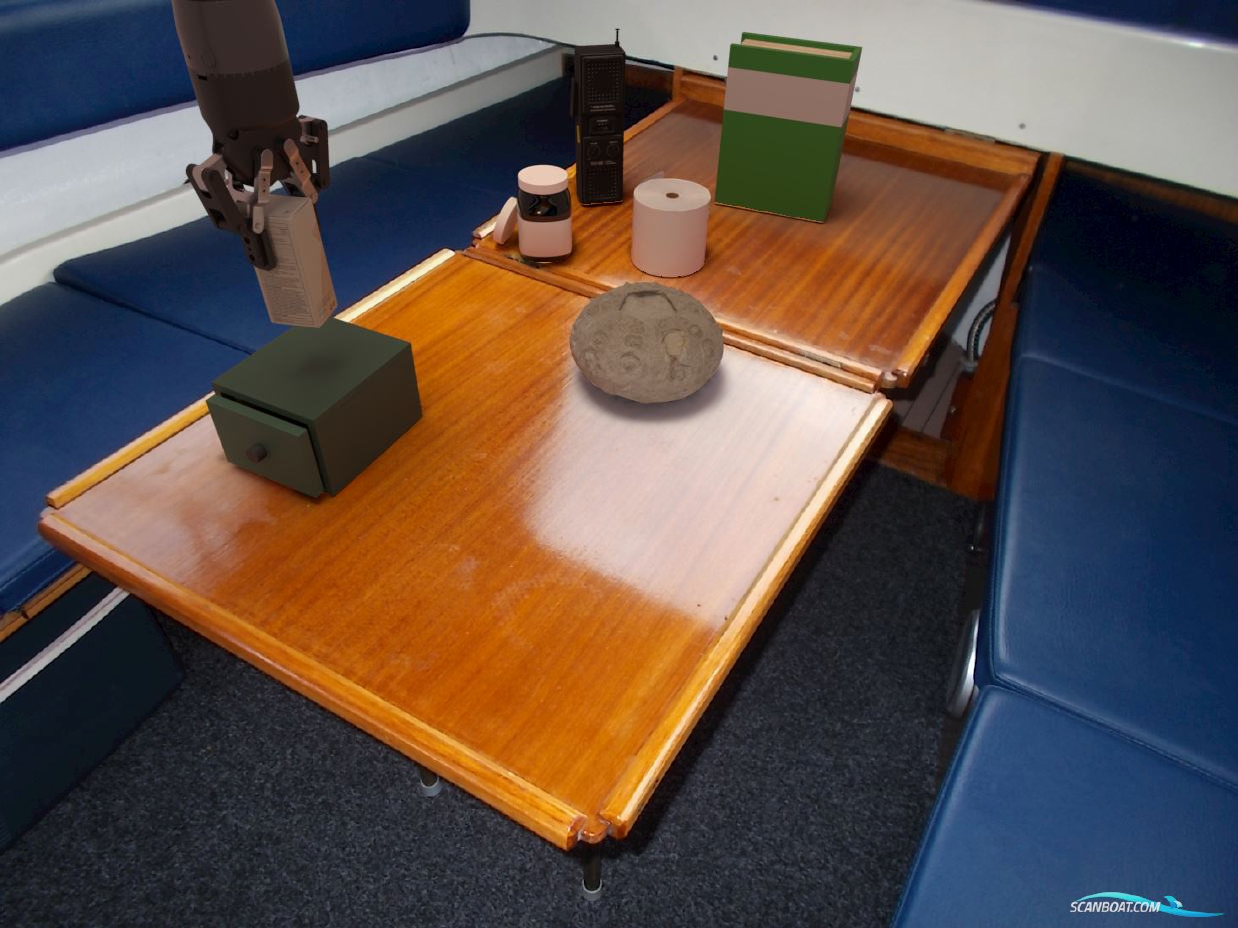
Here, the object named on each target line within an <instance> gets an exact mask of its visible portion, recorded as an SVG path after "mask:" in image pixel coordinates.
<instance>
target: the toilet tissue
mask: <svg viewBox="0 0 1238 928" xmlns="http://www.w3.org/2000/svg"><path fill="white" fill-rule="evenodd" d="M664 175H665V170H664V169H663V170H661V171H658V172H655V173H654V174H652V175H650V176H649V177H646V178H645V179H643V180H642V182H640V183H639V184H637V186H636V187H635V188H634V191H633V196H632V197H633V201H632V219H631V220H632V221H631V222H632V223H631V227H632V229H631V250H630V255H631V257H630V259H631V263H632V264H633V266H634V267H635V268H637V269H638V270H640V271H641V272H643V271H644V273H645V272H646V274H648V275H651V276H655V277H661V276H662V277H663V278H679V277H678V276H681V277H685V276H689V275H692V274H695V273H697V272H699V270H701V269H702V268H703V267H704V266H705V262H704V261H705V259H706V250H707V238H708V233H709V232H708V228H709V218H710V211H711V210H710V209H711V197H712V196H711V193H710V191H709V189H708V188H707V187H705V186H703V185H702V184H700V183H697V182H695V181H692V180H687V179H682V178H672V177H671V178H664ZM696 271H697V272H696ZM694 272H695V273H694Z"/></svg>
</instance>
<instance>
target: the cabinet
mask: <svg viewBox="0 0 1238 928" xmlns="http://www.w3.org/2000/svg"><path fill="white" fill-rule="evenodd" d="M412 347H413V346H412V343H411V341H408V340H404V339H401V338H399V337H395V336H392V335H388V334H386V333H383V332H380V331H376V330H374V329H371V328H368V327H364V326H360V325H358V324H354V323H352V322H348V321H346V320H342V319H339V318H336V317H333V316H331V315H330V316H329V317H328V319H327V320H326V321H325V322H324V323H323V324H322V326H321V327H320V328H315V327H302V326H294V325H292V326H291V327H290V328H289V329H287V330H286V331H284V332H283V333H281V334H280V335H278V336H277V337H275V338H274V339H272V340H270V341H269V342H268V343H266V344H265V345H263V346H262V347H260V348H259V349H257V350H256V351H254V352H253V353H251V354H250V355H248V356H247V357H245V358H244V359H242V360H241V361H239V362H238V363H237V364H234V366H232V367H231V368H229V369H228V370H226V371H225V372H223V373H222V374H220V375H218V377H216V378H215V379H213V380H212V381H210V384H211V386H212V389H213V392H214V394H216V395H218V396H221V397H223V398H226V399H229V400H231V401H234V402H236V400H235V397H236V398H238V399H241V400H244V401H246V402H249V403H251V404H254V405H257V406H259V407H262V408H265V409H267V410H270V411H273V412H275V413H278V414H280V415H283V416H286V417H288V418H291V419H294V420H296V421H299V422H301V423H304V424H307V425H308V427H309V430H310V434H311V437H312V441H313V445H314V448H315V452H316V456H317V459H318V463H319V466H320V470H321V474H322V475H320V478H321V481H322V485H323V489H324V492H323V493H324V494H326V495H329V496H331V497H333V498H334V497H336V496H337V495H339V493H340V492H341V491H342V490H343V489H345V488H346V487H348V485H349V484H351V482H353V480H355V479H356V478H357V477H358V476H359V475H360V474H361V473H362V472H363V471H364V470H366V469H367V468H368V467H369V466H370V465H371V464H372V463H373V462H374V461H375V460H376V459H378V458H379V457H380V456H381V455H382V454H383V453H384V452H386V450H388V449H389V448H390V447H391V446H392V445H393V444H394V443H395V442H396V441H398V439H400V438H401V437H402V436H403V435H404V434H405V433H406V432H408V430H410V429H411V427H413V426H414V425H415V424H416V423H417V422H418V421H420V420H421V418H423V416H424V415H423V409H422V404H421V397H420V390H419V385H418V384H419V383H418V377H417V372H416V367H415V366H416V365H415V359H414V353H413V348H412ZM323 493H322V494H323Z"/></svg>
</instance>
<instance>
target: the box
mask: <svg viewBox="0 0 1238 928" xmlns="http://www.w3.org/2000/svg"><path fill="white" fill-rule="evenodd" d="M247 215H248V216H249V204H248V203H247ZM264 229H265V230H267V232H268V235H269V239H270V243H271V247H272V250H273V254H274V258H275V262H276V268H274V269H272V270H271V271H266V270H262V269H259V268H256V267H255V266H254V265H253V268H254V271H255V274H256V278H257V280H258V281H257V282H258V283H259V288H260V290H261V293H262V297H263V300H264V303H265V304H264V305H265V307H266V310H267V314H268V316H269V320H270V323H272V324H278V325H283V326H302V327H315V328H320V327H321V326H322V324H323V323H324V322H325V321H326V320H327V319H328V317H329V316H330V317H331V315H332V314H333V313H334V312H335V310H336V309H337V308H338V305H339V304H338V300H337V297H336V293H335V288H334V285H333V280H332V276H331V272H330V269H329V264H328V261H327V256H326V253H325V248H324V244H323V241H322V236H321V234H320V232H319V228H318V224H317V220H316V216H315V212H314V208H313V204H312V200H311V198H307V197H294V196H288V195H284V194H283V195H281V194H271V193H270V198H269V204H268V205H266V206H265V213H264Z"/></svg>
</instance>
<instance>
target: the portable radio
mask: <svg viewBox="0 0 1238 928" xmlns="http://www.w3.org/2000/svg"><path fill="white" fill-rule="evenodd" d="M614 30H615V33H616V34H615V41H614V43H609V44H607V43H606V44H588V45H575V46H574V58H573V59H574V60H573V61H574V64H573V65H574V76H571V81H570V82H571V83H570V102H569V103H570V104H569V105H570V106H569V116H570V117H571V119H572V120H574V121H575V125H574V126H575V188H576V189H575V191H576V193H577V194H576V193H575V194H576V197H577V196H578V197H577V199H578V198H579V199H580V201H581V203H582V204H591V203H603V202H615V201H621V200H623V201H624V155H625V154H624V153H625V152H624V149H625V148H624V147H625V103H626V101H625V100H626V99H625V98H626V68H627V67H626V63H627V62H626V61H627V54H626V53H627V52H626V51H625V49H624V48H623V47H622V46H621V44H620V43H621V42H620V41H619V31H620V30H621V29H620V28H614ZM574 118H575V119H574ZM579 199H578V200H579ZM580 201H579V202H580ZM581 203H580V204H581Z"/></svg>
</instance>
